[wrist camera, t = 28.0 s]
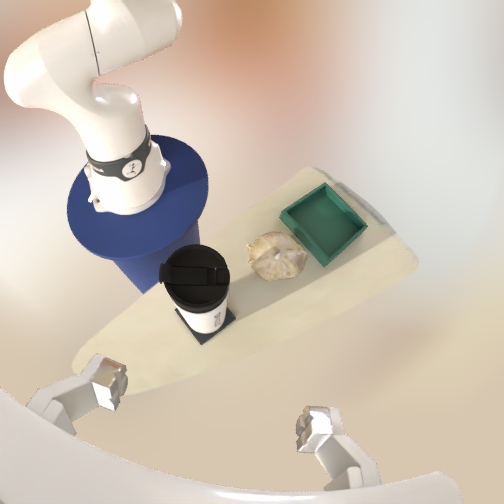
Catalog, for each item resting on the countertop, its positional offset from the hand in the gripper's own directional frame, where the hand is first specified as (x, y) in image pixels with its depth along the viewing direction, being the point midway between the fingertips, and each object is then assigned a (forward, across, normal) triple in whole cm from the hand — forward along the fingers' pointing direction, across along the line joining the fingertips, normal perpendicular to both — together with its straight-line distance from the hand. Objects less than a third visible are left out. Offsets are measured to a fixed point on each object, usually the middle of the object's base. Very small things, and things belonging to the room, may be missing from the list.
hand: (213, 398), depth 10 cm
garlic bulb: (+36, -5, +8) cm, 38 cm away
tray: (+44, -14, 0) cm, 46 cm away
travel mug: (+28, +4, +16) cm, 32 cm away
